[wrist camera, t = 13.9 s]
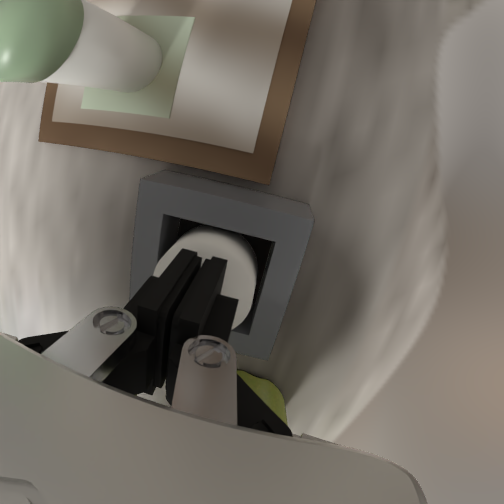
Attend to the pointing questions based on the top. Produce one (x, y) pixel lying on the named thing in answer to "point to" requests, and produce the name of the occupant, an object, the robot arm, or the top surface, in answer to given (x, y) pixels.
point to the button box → (231, 218)
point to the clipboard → (195, 87)
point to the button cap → (226, 247)
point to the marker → (74, 46)
